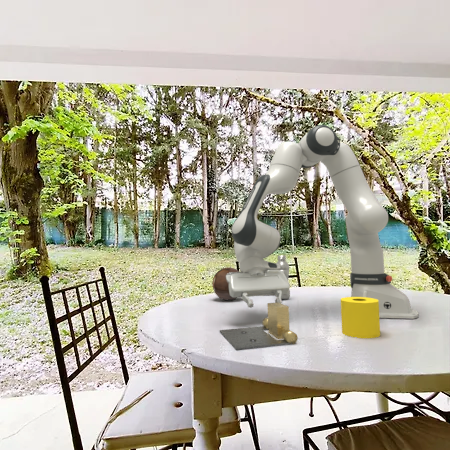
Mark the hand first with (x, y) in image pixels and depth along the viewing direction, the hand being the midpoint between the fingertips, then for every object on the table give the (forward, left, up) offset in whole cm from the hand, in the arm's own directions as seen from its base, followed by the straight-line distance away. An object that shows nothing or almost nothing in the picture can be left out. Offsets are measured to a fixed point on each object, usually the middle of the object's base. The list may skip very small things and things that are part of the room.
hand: (265, 305), depth 104 cm
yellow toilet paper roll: (-27, -2, -7) cm, 28 cm away
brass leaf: (-6, +8, -7) cm, 12 cm away
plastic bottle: (+9, -49, -7) cm, 51 cm away
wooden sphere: (+32, -40, -7) cm, 52 cm away
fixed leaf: (-1, +12, -7) cm, 14 cm away
